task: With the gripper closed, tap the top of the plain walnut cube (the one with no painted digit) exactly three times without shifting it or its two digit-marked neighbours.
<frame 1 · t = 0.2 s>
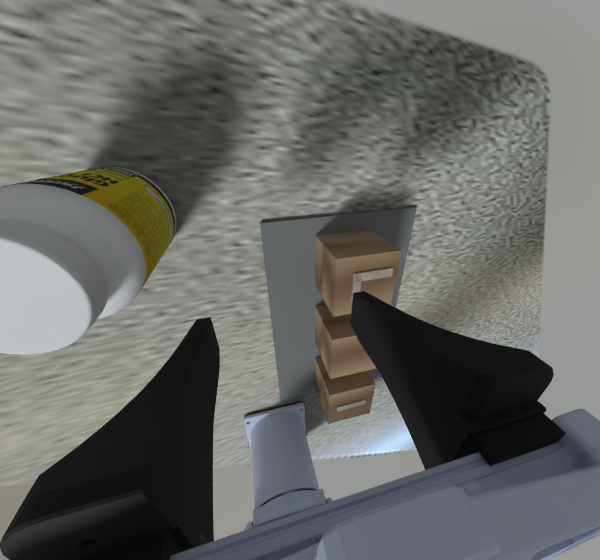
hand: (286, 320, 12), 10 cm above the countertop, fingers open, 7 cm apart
pill bottle: (130, 213, 17), on the countertop
plain block: (337, 320, 26), resting on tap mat
digit block 1: (334, 367, 30), resting on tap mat
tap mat: (336, 319, 26), on the countertop
digit block 7: (341, 258, 22), resting on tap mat
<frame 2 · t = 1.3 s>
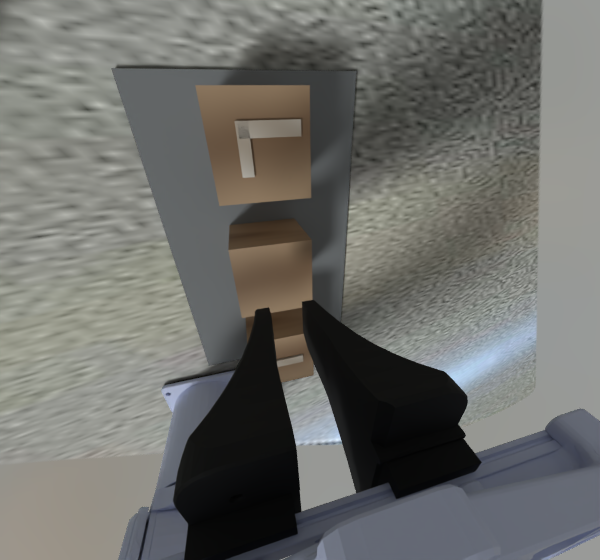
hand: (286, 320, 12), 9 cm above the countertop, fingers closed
plain block: (266, 251, 20), resting on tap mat
digit block 1: (274, 322, 24), resting on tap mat
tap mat: (265, 250, 20), on the countertop
digit block 7: (254, 147, 16), resting on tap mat
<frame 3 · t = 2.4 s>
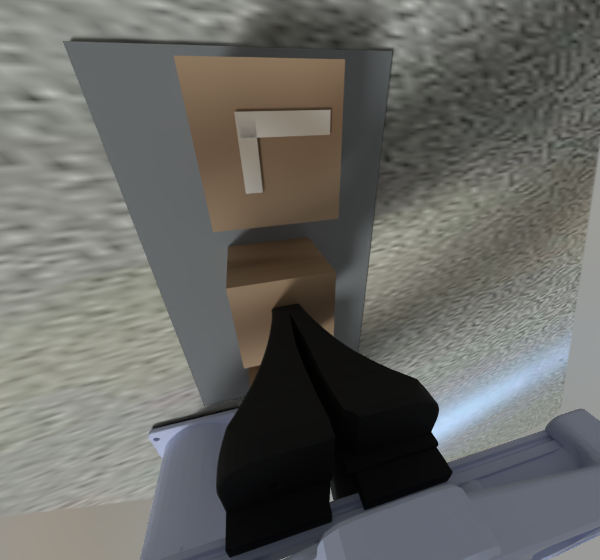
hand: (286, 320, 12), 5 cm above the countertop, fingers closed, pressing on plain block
plain block: (272, 276, 16), resting on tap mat, touching gripper
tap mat: (272, 274, 17), on the countertop
digit block 7: (259, 150, 13), resting on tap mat
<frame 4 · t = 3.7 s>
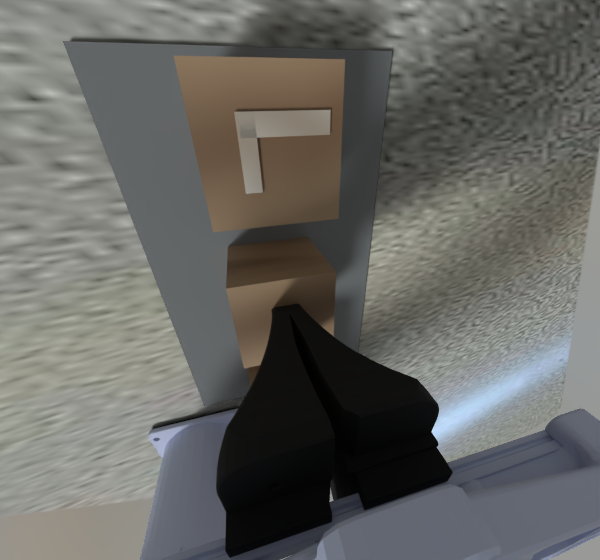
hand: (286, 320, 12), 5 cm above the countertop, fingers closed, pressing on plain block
plain block: (272, 276, 16), resting on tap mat, touching gripper
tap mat: (272, 274, 17), on the countertop
digit block 7: (259, 150, 13), resting on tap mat
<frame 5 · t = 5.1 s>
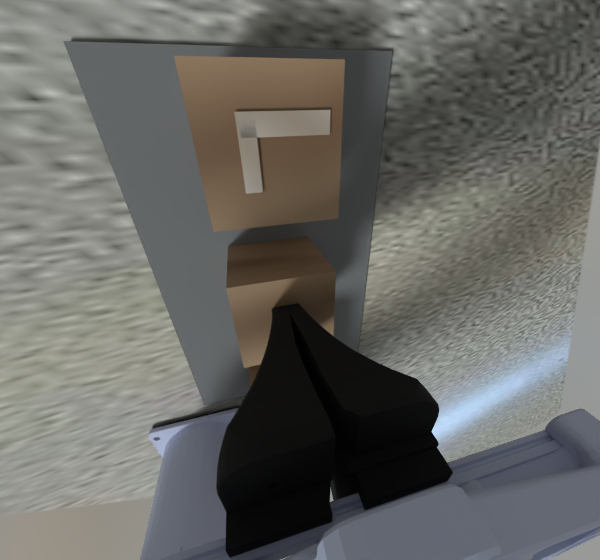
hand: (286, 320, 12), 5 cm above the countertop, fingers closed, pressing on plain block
plain block: (272, 276, 16), resting on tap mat, touching gripper
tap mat: (272, 274, 17), on the countertop
digit block 7: (259, 150, 13), resting on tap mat
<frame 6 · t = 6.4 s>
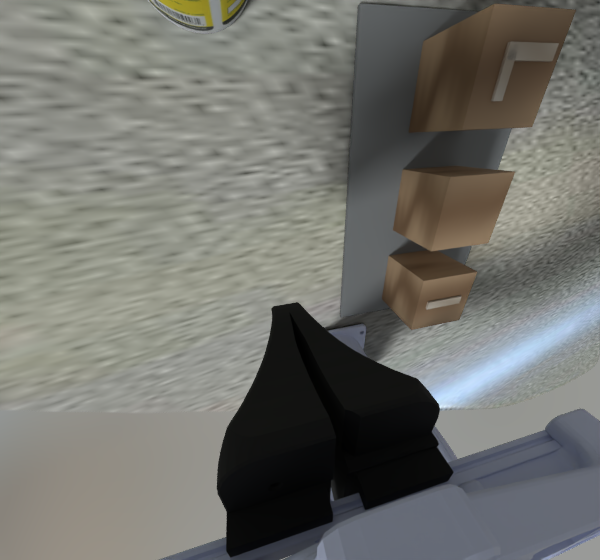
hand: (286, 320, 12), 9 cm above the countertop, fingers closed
plain block: (423, 199, 21), resting on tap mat
digit block 1: (407, 274, 25), resting on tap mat
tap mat: (420, 198, 21), on the countertop
digit block 7: (446, 90, 17), resting on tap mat
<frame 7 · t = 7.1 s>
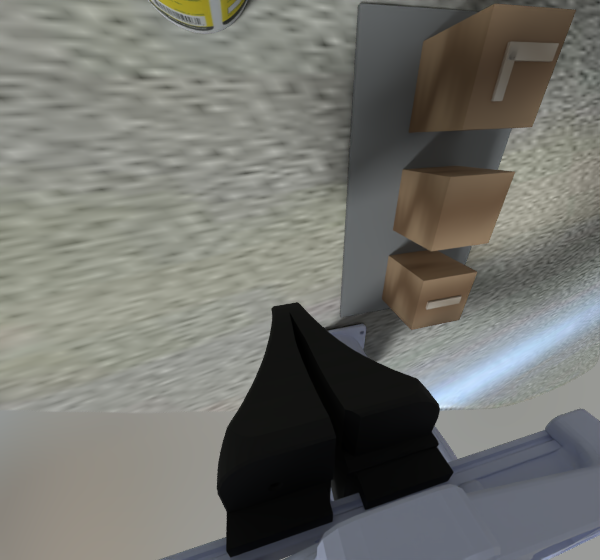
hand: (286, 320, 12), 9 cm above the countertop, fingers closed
plain block: (423, 199, 21), resting on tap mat
digit block 1: (407, 274, 25), resting on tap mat
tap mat: (420, 198, 21), on the countertop
digit block 7: (446, 90, 17), resting on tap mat
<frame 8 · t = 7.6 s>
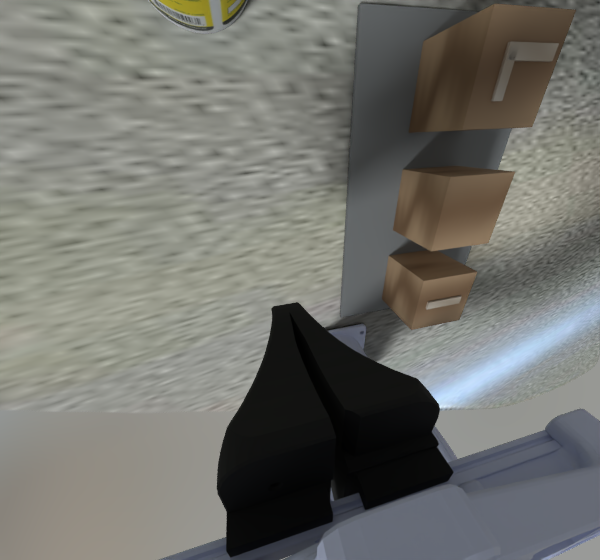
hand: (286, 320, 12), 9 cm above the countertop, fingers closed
plain block: (423, 199, 21), resting on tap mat
digit block 1: (407, 274, 25), resting on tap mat
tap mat: (420, 198, 21), on the countertop
digit block 7: (446, 90, 17), resting on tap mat
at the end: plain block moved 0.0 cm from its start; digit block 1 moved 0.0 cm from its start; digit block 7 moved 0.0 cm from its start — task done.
